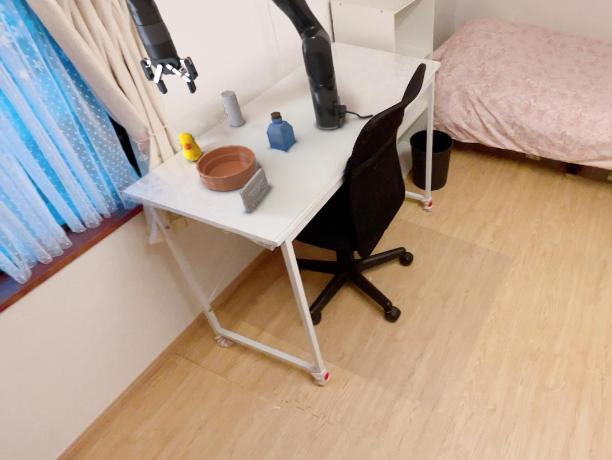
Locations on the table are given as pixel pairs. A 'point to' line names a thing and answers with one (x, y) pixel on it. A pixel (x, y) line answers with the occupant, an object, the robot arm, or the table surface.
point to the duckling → (189, 146)
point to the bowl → (227, 167)
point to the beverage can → (232, 108)
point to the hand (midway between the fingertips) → (179, 92)
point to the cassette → (254, 190)
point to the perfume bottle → (280, 133)
